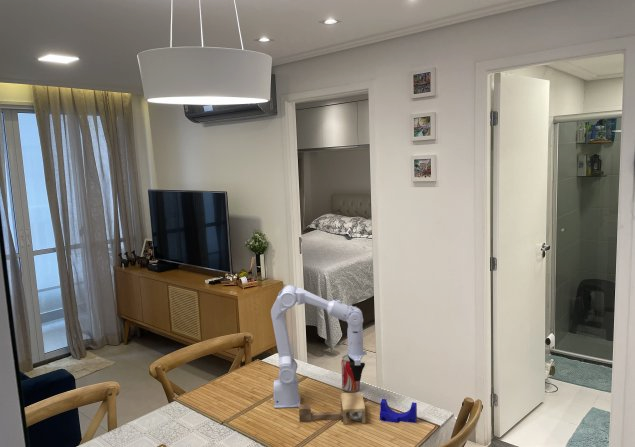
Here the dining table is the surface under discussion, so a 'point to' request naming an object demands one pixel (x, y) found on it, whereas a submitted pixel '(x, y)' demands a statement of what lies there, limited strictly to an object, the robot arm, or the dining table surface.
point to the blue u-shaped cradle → (393, 416)
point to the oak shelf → (352, 404)
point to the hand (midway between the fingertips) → (356, 376)
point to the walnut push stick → (317, 414)
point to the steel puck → (356, 416)
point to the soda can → (348, 376)
